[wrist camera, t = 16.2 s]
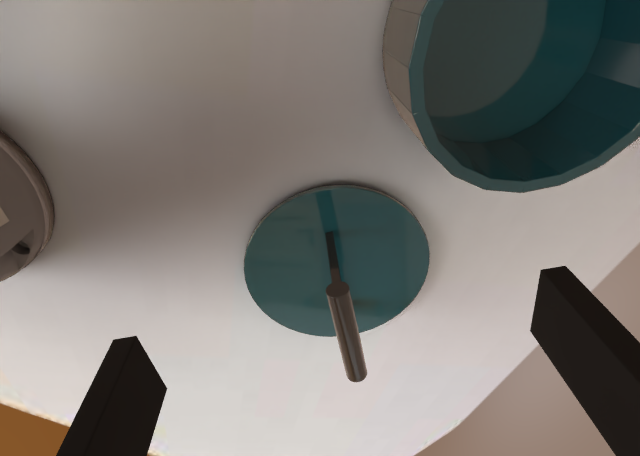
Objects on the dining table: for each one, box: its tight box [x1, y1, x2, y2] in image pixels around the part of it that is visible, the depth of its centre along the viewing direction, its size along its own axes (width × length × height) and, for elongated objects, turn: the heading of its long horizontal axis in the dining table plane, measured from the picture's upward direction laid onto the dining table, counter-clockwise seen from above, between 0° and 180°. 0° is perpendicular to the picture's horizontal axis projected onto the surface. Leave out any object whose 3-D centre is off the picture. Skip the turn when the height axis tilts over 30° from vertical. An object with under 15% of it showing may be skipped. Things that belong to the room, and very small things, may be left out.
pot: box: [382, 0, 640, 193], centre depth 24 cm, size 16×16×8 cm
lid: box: [244, 185, 430, 382], centre depth 33 cm, size 17×17×10 cm
